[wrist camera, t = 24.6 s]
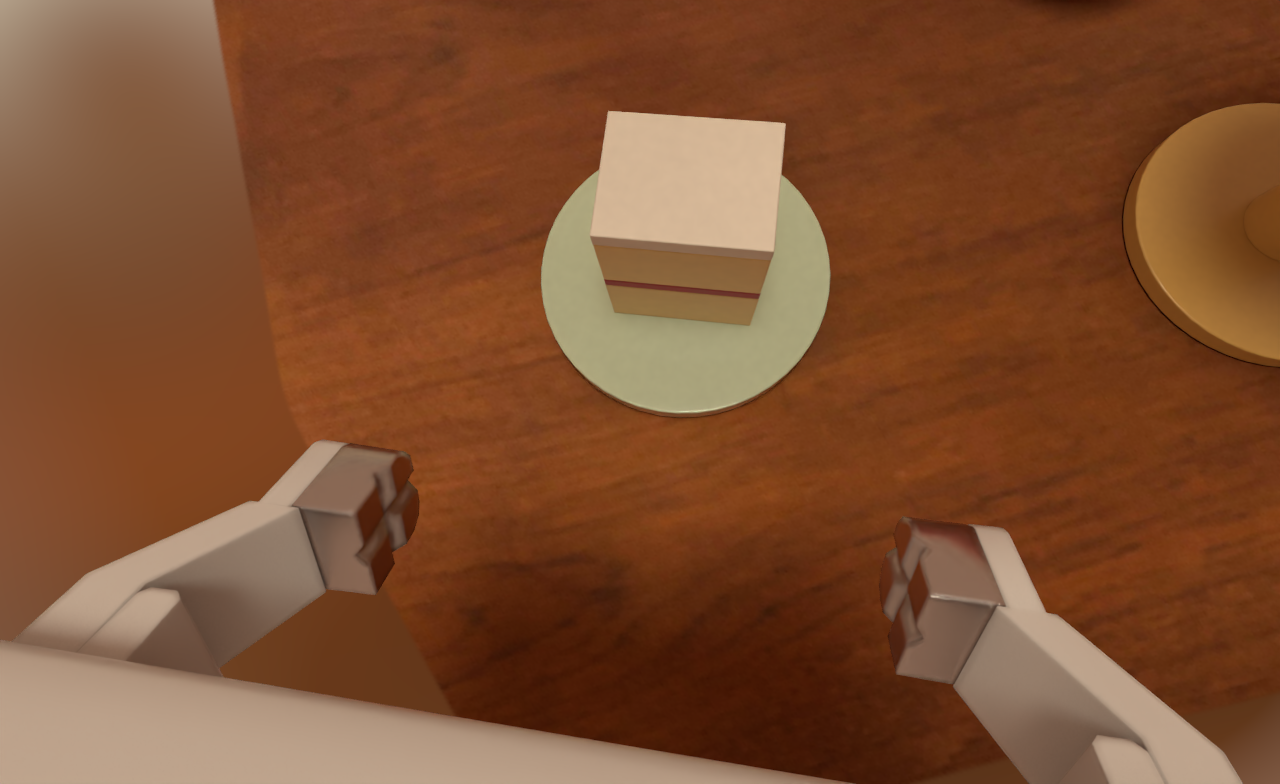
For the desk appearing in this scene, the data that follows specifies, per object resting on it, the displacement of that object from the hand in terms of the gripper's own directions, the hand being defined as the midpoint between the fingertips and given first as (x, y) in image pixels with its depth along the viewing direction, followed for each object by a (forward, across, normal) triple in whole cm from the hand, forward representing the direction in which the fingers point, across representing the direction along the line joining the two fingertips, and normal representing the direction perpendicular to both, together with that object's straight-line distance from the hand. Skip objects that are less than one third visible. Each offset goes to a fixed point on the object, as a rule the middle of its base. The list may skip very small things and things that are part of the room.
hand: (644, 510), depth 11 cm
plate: (+22, +1, +6) cm, 23 cm away
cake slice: (+22, +1, +5) cm, 22 cm away
